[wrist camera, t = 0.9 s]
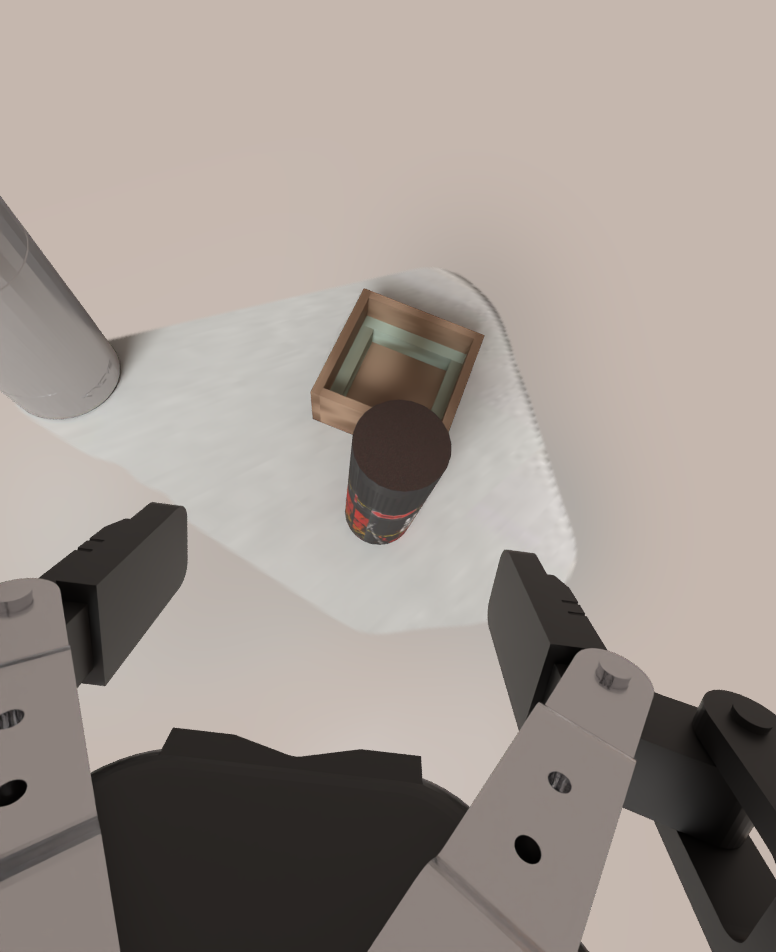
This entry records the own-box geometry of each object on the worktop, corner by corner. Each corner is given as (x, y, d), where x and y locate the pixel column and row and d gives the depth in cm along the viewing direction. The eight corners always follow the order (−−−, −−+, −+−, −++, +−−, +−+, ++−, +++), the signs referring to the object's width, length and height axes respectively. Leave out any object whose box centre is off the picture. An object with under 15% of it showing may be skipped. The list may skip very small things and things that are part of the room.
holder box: (312, 418, 44) (310, 391, 39) (360, 322, 48) (363, 288, 44) (431, 466, 44) (443, 444, 39) (469, 365, 48) (484, 335, 43)
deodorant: (364, 469, 43) (380, 383, 29) (422, 499, 43) (467, 427, 29) (332, 524, 41) (333, 461, 27) (393, 556, 41) (425, 509, 27)
